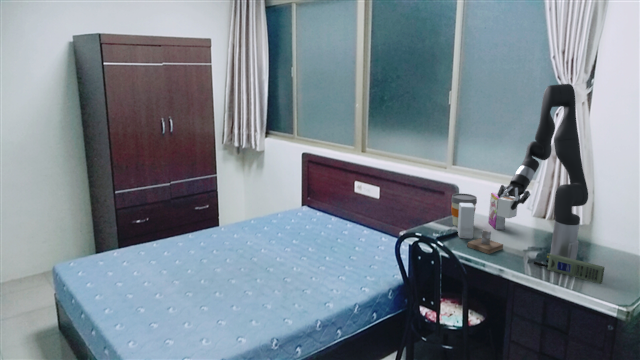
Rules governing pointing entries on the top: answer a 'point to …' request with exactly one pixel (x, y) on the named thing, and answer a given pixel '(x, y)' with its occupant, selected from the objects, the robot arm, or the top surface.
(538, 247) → the top surface
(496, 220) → the candy bar box
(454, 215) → the lidded canister
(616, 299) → the top surface
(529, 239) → the top surface
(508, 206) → the white box
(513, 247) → the top surface
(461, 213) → the skincare box
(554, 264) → the handheld radio
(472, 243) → the shaft base
